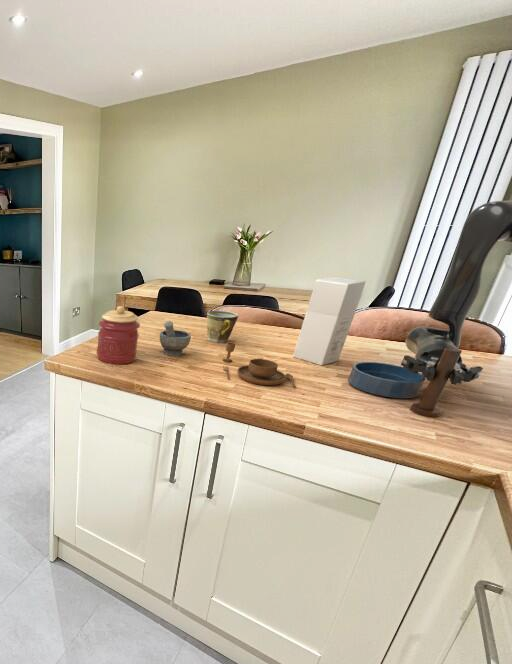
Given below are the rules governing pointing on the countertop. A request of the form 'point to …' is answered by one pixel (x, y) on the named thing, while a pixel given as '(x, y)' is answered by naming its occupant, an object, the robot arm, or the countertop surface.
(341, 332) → the tall white carton
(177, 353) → the mortar and pestle
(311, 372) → the countertop surface
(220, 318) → the ceramic cup
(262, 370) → the place setting
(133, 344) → the kitchen canister
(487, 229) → the robot arm
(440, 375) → the brown post with base
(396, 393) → the bowl
